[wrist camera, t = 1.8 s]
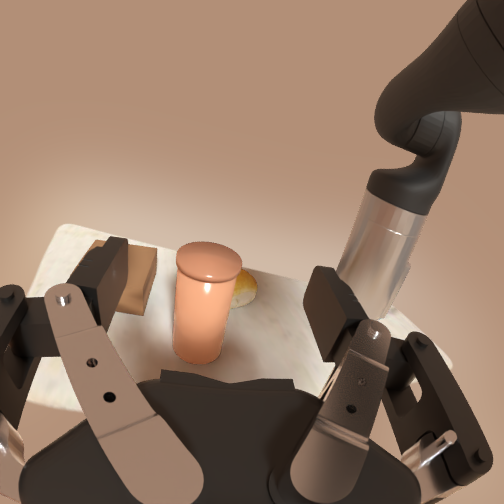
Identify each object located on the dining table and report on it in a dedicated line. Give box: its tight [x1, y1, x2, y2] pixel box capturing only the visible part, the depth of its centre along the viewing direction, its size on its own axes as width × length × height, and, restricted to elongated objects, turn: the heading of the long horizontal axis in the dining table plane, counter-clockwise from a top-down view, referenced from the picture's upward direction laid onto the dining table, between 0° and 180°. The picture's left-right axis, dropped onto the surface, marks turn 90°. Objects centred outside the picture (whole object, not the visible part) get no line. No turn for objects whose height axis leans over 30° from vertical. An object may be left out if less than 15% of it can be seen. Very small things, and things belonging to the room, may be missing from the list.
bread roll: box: [230, 269, 257, 309], centre depth 39 cm, size 8×9×4 cm
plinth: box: [70, 240, 157, 316], centre depth 34 cm, size 9×9×4 cm
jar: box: [173, 242, 242, 364], centre depth 27 cm, size 6×6×11 cm
